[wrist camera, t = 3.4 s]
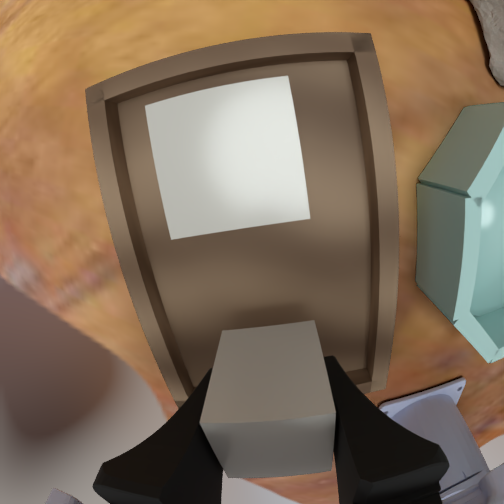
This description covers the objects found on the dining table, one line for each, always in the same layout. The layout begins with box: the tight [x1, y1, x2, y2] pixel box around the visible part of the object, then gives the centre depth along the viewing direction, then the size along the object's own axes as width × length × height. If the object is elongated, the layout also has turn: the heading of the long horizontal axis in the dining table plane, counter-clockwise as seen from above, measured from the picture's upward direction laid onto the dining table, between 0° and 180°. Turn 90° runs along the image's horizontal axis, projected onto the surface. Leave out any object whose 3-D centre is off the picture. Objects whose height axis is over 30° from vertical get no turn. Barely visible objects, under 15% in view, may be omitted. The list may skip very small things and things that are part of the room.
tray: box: [85, 32, 399, 408], centre depth 13 cm, size 19×13×2 cm
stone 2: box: [200, 320, 336, 478], centre depth 10 cm, size 4×4×5 cm
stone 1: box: [145, 76, 310, 240], centre depth 10 cm, size 4×4×5 cm
